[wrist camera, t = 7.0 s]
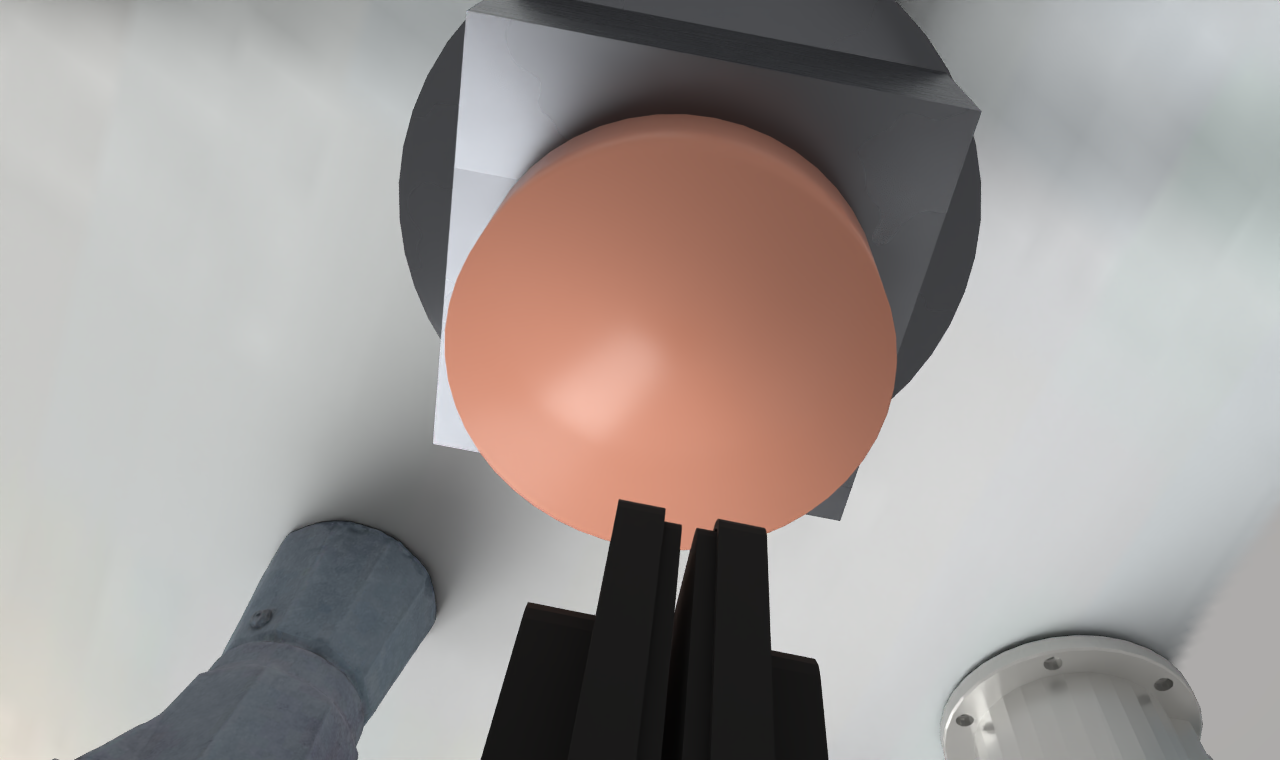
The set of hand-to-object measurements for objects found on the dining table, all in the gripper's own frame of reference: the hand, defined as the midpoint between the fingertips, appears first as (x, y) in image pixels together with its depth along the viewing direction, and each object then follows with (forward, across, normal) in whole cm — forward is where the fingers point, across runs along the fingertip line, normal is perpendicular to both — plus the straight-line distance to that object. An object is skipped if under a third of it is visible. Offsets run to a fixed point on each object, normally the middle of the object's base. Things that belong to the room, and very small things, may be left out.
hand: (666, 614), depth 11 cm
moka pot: (+29, +13, +28) cm, 43 cm away
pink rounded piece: (+11, 0, -1) cm, 11 cm away
